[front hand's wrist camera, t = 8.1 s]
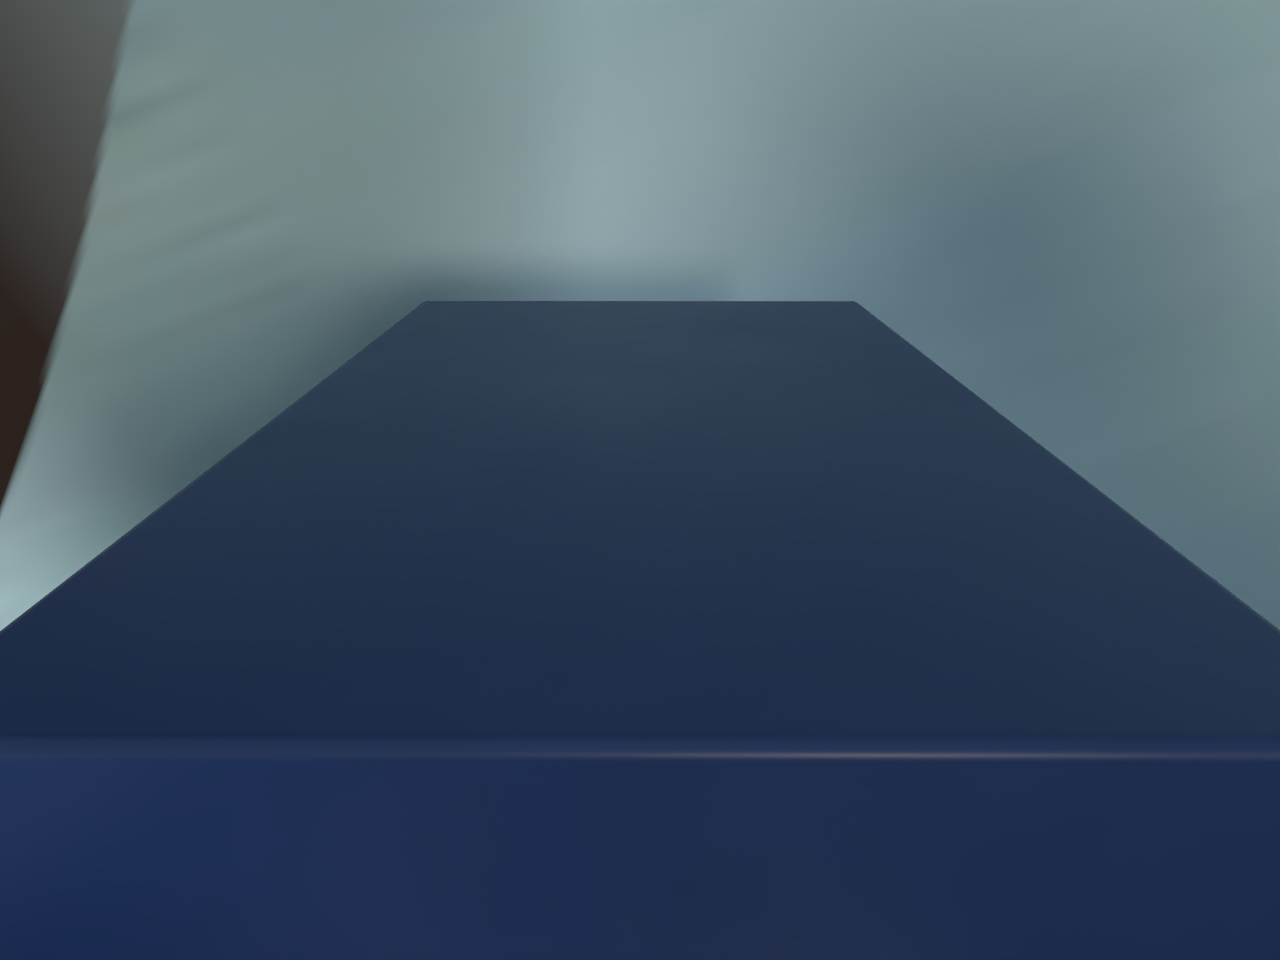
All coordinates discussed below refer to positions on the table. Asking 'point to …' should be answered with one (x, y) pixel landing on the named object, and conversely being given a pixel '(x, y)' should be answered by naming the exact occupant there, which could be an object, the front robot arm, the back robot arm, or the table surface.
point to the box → (640, 674)
